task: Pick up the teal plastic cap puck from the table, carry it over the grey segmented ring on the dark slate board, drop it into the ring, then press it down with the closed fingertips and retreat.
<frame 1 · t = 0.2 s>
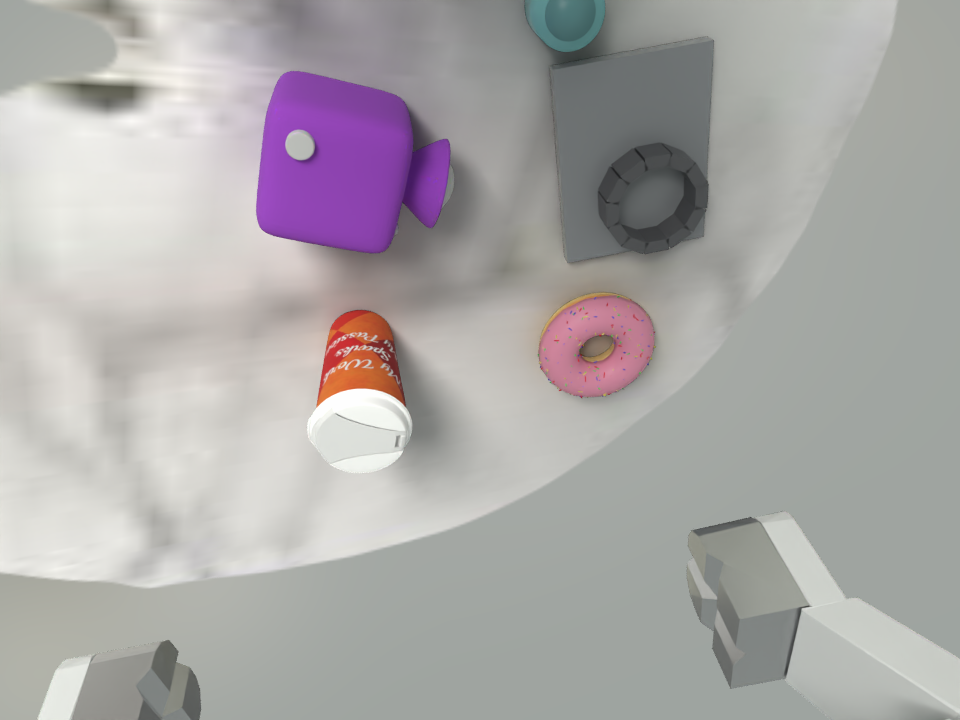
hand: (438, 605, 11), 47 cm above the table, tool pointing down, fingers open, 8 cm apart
toy camera: (358, 142, 54), on the table
paper cup: (359, 334, 64), on the table
doughnut: (590, 333, 68), on the table
cap: (558, 4, 50), on the table
grey segmented ring: (642, 187, 59), resting on board
board: (630, 155, 58), on the table
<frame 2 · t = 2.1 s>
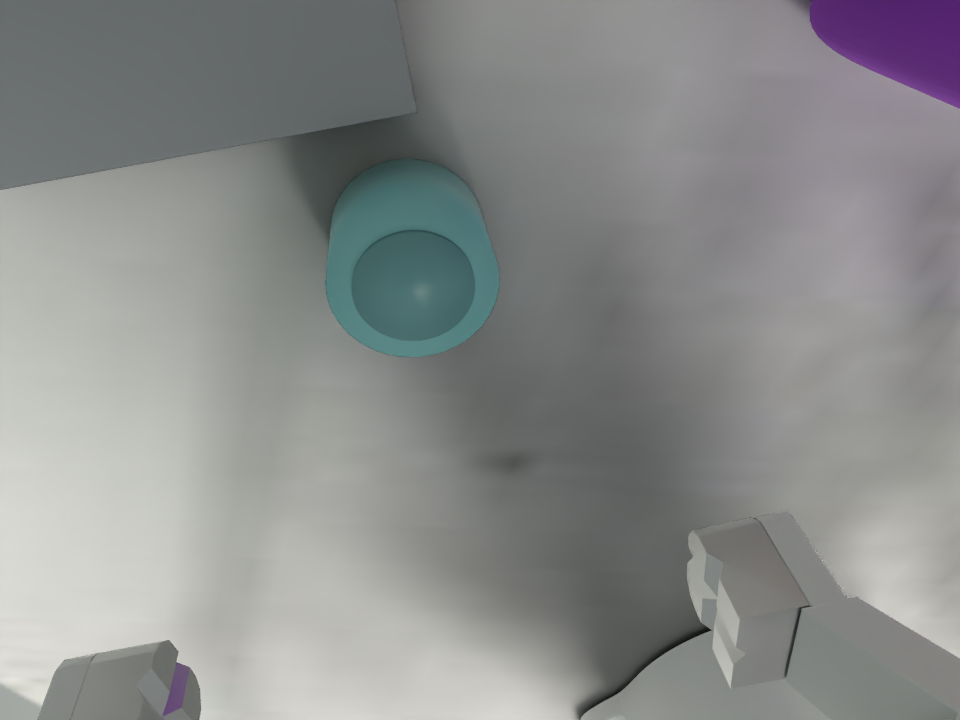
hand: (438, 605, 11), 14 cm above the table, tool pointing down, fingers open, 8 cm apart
cap: (408, 232, 23), on the table
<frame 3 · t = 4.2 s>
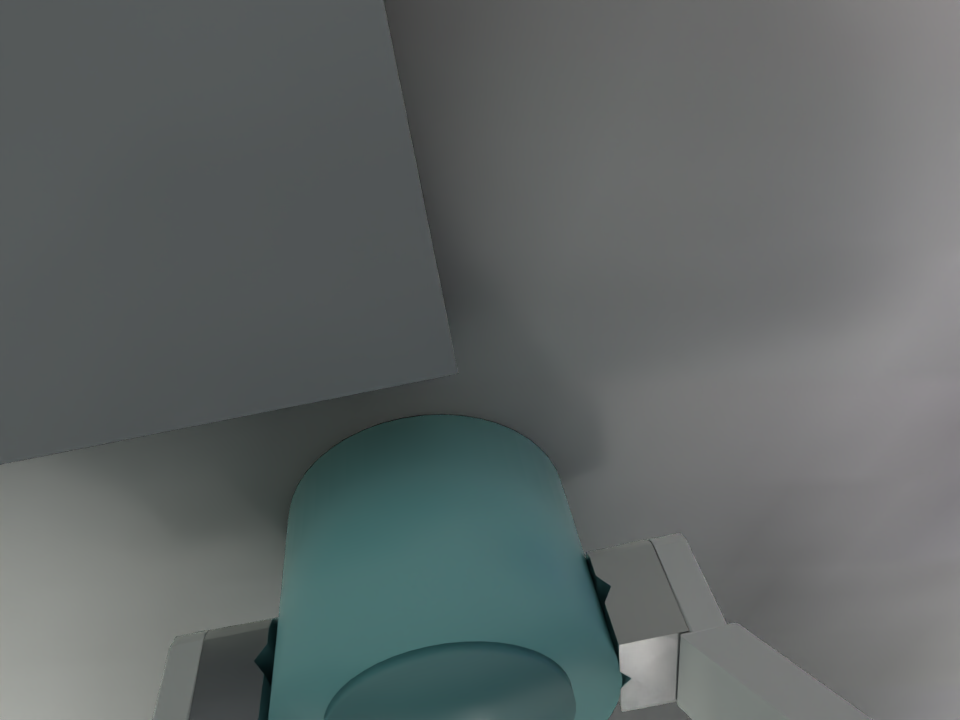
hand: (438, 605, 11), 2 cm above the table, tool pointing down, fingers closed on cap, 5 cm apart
cap: (429, 519, 13), on the table, touching gripper
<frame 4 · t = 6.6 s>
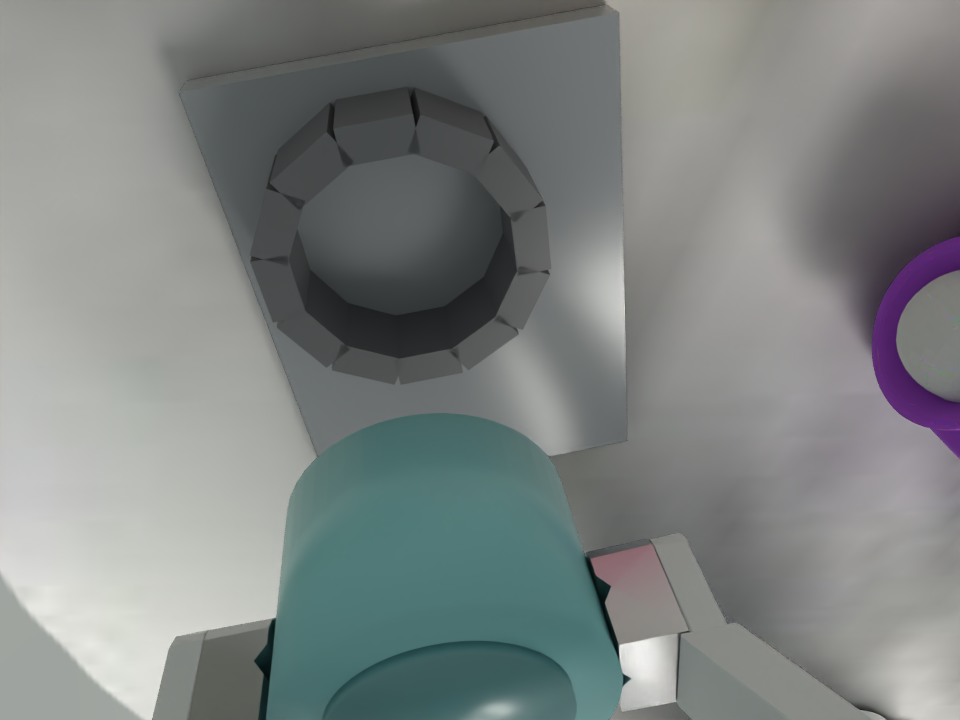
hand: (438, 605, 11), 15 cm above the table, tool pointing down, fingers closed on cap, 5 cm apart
cap: (428, 519, 12), point 13 cm above the table, touching gripper
grey segmented ring: (399, 211, 23), resting on board
board: (445, 284, 25), on the table
when the fingers open (5 cm above the table, at t = 9.1 s): cap drops 2 cm, resting on board.
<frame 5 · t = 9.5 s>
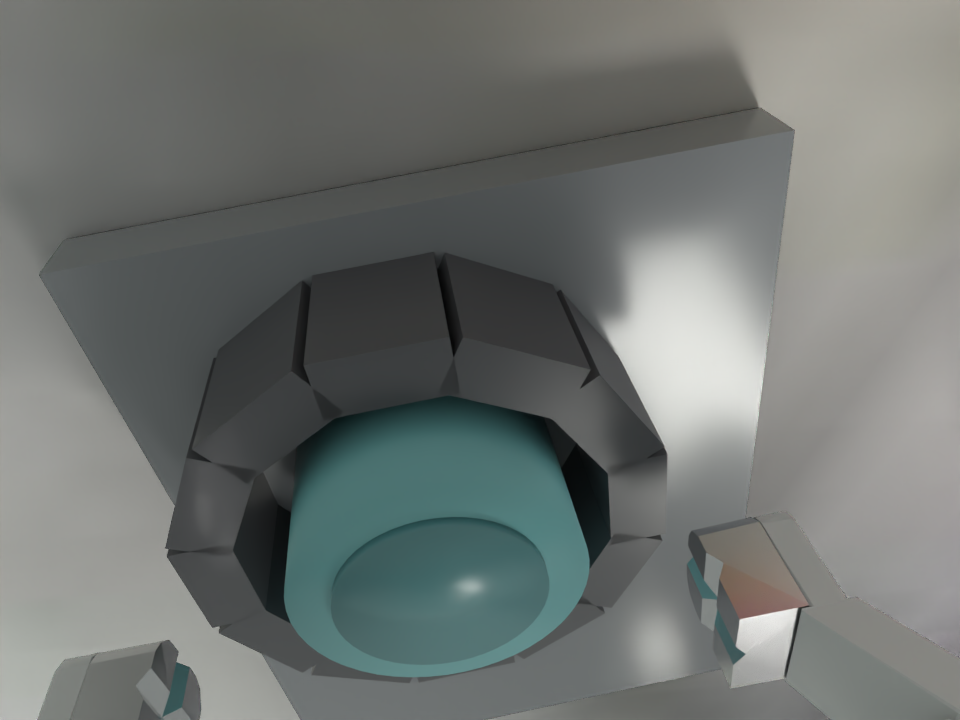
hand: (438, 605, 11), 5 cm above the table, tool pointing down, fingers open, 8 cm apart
cap: (423, 441, 14), point 1 cm above the table, touching board
grey segmented ring: (416, 406, 15), resting on board
board: (482, 493, 17), on the table
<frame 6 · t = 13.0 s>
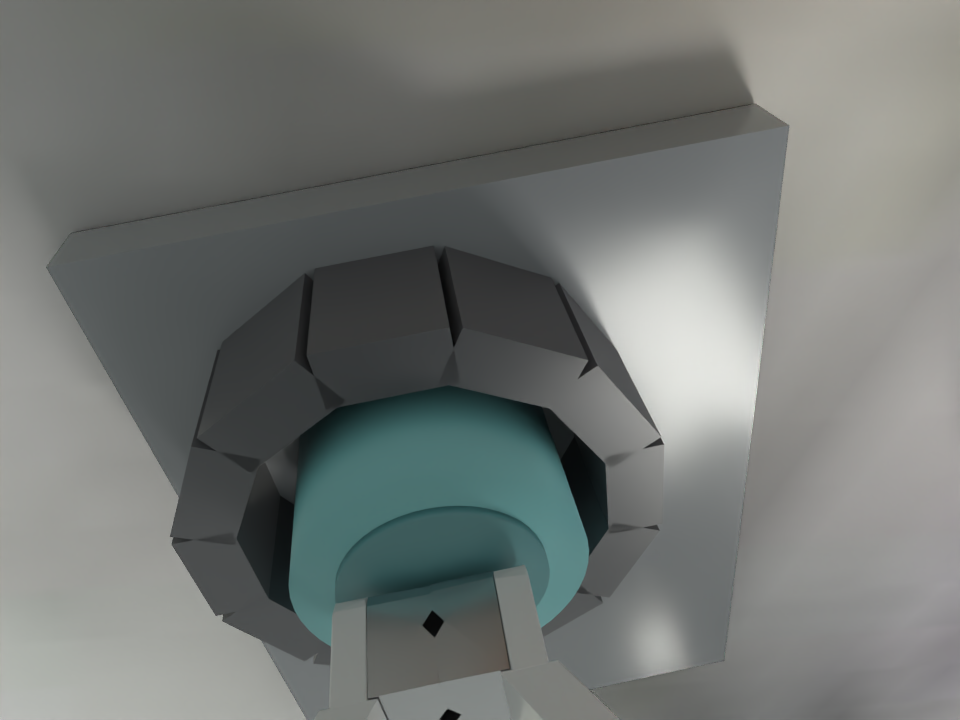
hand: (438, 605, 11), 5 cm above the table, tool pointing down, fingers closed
cap: (424, 434, 14), point 1 cm above the table, touching board
grey segmented ring: (416, 399, 15), resting on board
board: (481, 486, 17), on the table
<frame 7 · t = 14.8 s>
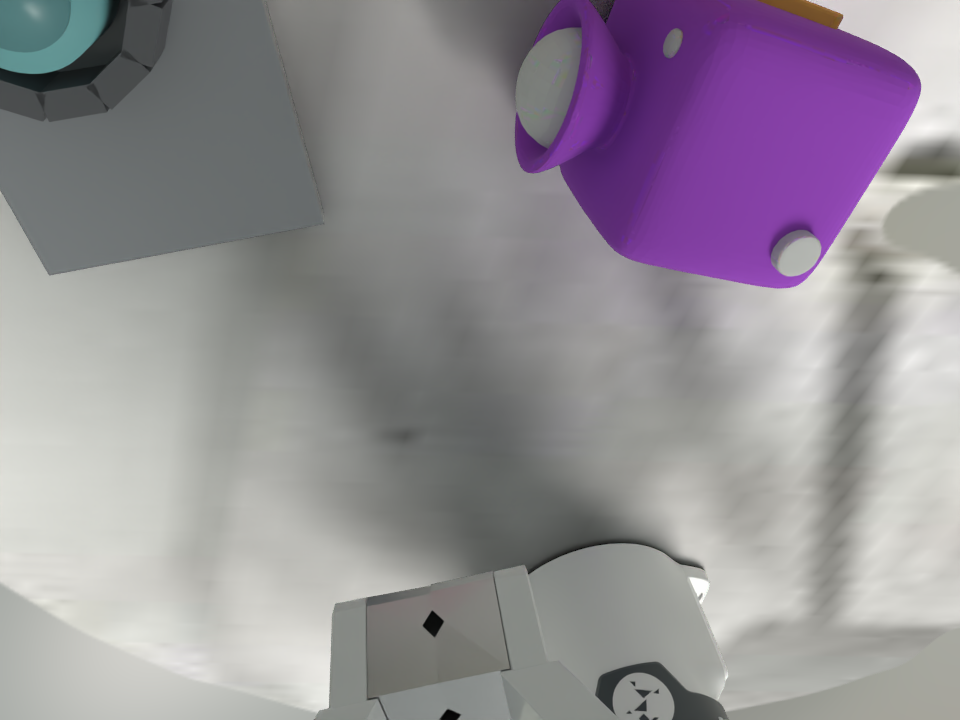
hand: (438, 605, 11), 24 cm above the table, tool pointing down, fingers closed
toy camera: (636, 88, 32), on the table
board: (116, 52, 27), on the table
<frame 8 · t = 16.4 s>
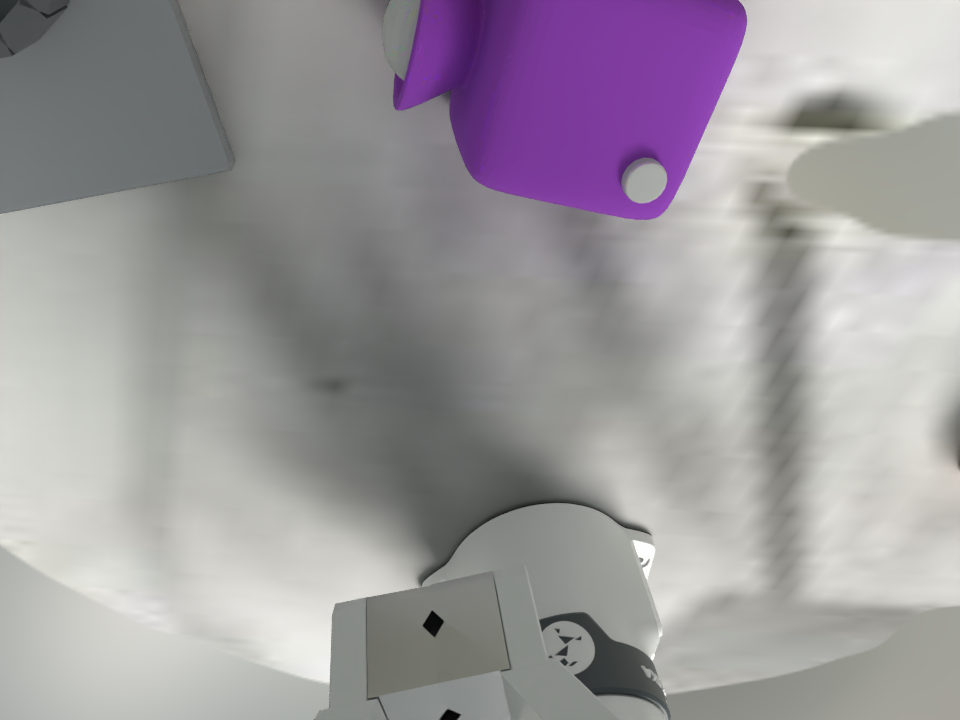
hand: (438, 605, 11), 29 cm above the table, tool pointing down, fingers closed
toy camera: (522, 41, 34), on the table
board: (32, 8, 31), on the table
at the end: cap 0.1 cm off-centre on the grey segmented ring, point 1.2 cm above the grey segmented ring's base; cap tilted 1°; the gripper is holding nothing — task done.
